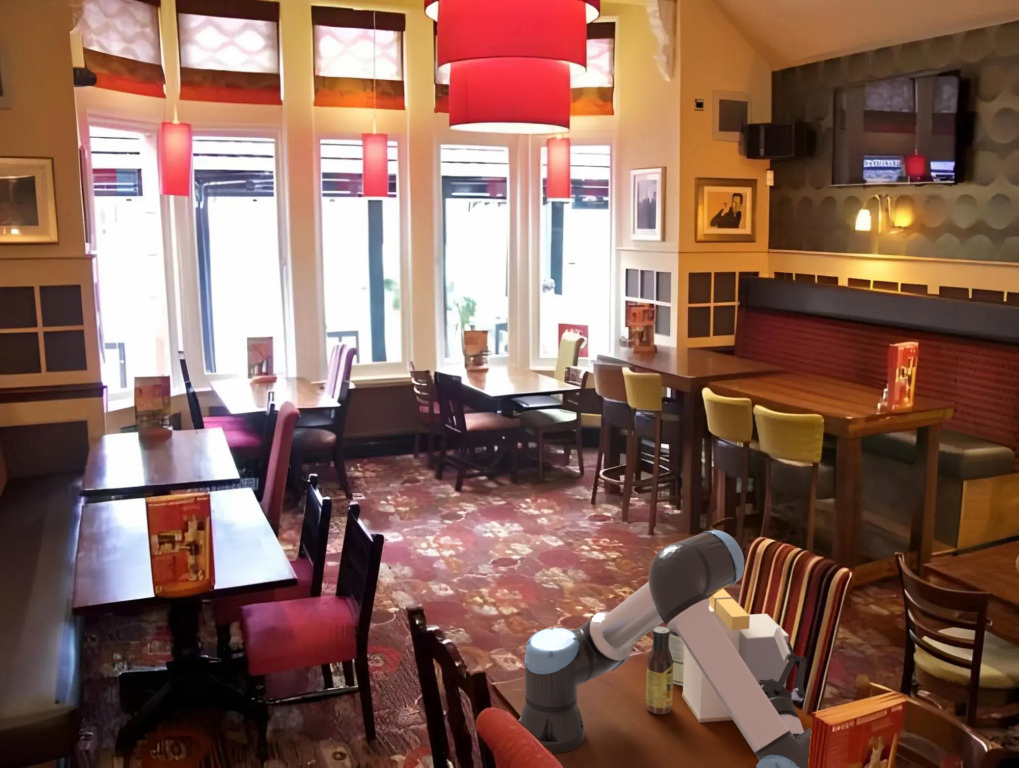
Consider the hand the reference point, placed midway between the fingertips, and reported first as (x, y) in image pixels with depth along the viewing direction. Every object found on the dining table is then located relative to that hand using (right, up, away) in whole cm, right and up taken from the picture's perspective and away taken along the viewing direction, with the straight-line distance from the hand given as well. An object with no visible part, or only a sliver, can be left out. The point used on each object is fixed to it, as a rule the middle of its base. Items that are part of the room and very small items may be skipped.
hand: (746, 632), depth 199 cm
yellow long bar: (-3, +2, +13) cm, 14 cm away
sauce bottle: (-16, -24, +21) cm, 35 cm away
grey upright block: (+6, -24, +19) cm, 31 cm away
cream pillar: (-3, -24, +22) cm, 32 cm away
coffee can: (-7, -21, +37) cm, 43 cm away
